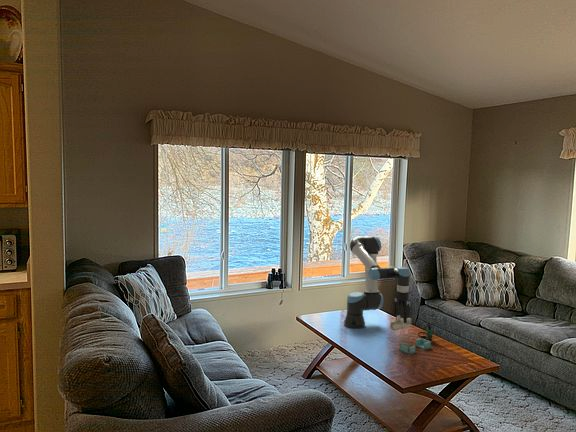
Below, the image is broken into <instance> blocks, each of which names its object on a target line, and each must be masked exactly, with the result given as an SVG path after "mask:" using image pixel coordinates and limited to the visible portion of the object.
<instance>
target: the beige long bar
mask: <svg viewBox="0 0 576 432" xmlns="http://www.w3.org/2000/svg"><path fill="white" fill-rule="evenodd" d="M402 318H403V317H400V319H397V320H396V319H394V320H391V321H390V325H389V326H390V328H389V329H390V330H393V331H395V332H396V331H399V330H403V329H405V328H409V327H411V326H412V318H407V323H406V327H405V328H402Z"/></svg>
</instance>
